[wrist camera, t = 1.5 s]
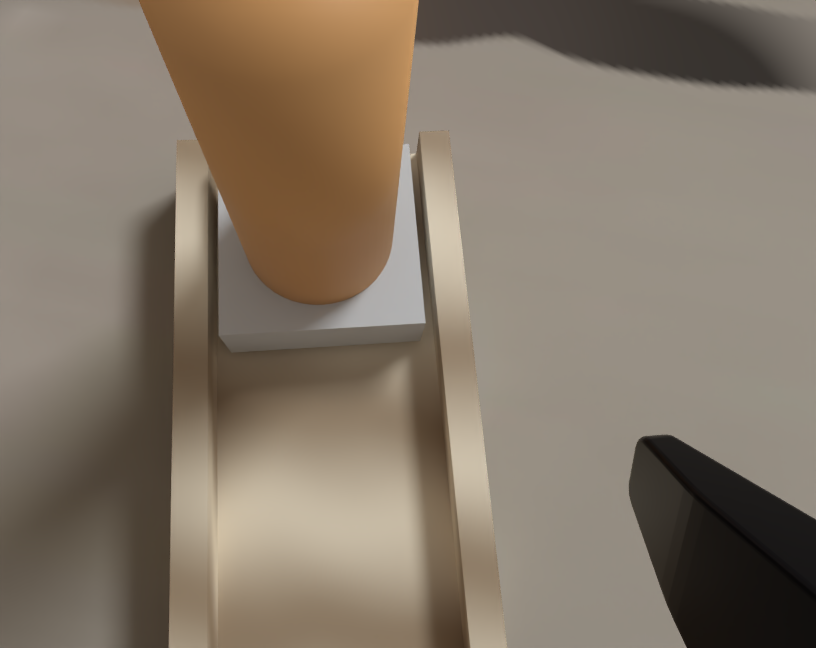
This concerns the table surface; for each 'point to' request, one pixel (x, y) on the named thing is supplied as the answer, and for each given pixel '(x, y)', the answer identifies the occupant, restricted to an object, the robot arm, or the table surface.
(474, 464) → the track
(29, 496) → the table surface
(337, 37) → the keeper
